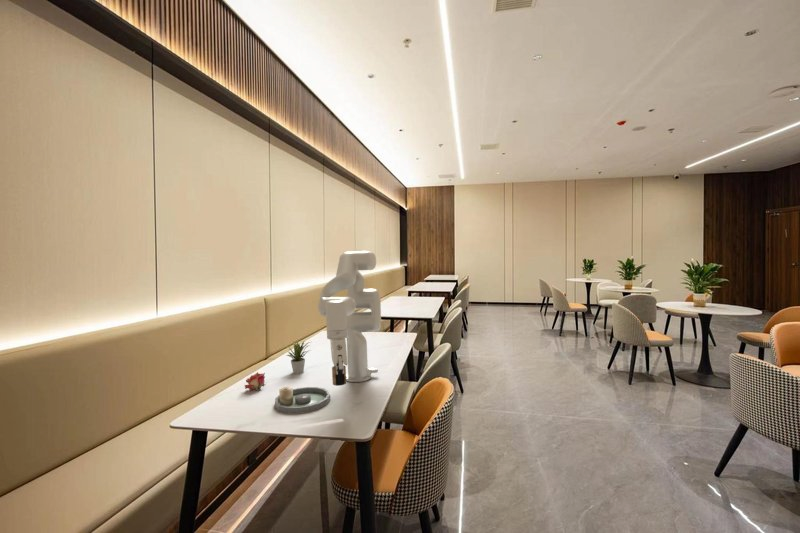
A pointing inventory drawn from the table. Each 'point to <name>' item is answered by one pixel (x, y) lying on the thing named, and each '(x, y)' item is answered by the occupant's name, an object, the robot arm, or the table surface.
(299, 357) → the house plant
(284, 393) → the cream pillar candle
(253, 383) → the flower
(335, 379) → the walnut bead
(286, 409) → the groove tray
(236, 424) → the table surface
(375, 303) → the robot arm
